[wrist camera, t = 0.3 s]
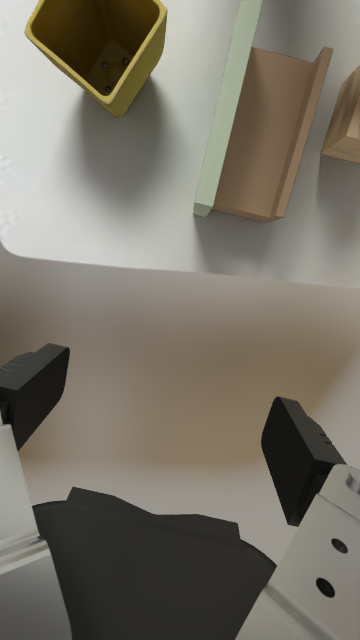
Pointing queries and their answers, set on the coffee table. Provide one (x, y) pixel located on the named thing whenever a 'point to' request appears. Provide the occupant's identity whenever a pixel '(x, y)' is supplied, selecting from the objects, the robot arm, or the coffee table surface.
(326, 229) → the coffee table surface
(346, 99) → the cabinet block
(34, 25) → the flower pot
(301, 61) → the wall board
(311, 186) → the coffee table surface
